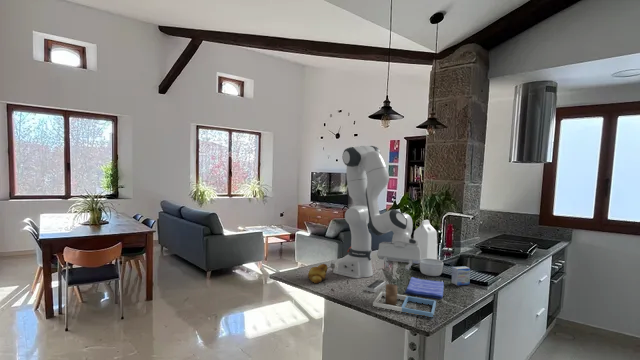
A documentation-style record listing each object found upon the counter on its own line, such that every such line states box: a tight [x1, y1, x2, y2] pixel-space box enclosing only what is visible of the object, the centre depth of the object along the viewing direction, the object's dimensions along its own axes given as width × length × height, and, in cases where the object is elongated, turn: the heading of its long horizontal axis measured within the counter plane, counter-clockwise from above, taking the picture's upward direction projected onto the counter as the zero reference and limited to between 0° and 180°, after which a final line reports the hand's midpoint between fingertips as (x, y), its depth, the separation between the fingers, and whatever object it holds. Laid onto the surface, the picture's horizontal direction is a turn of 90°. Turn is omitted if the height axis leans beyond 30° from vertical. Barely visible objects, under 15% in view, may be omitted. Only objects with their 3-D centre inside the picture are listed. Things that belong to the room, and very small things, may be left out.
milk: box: [413, 219, 438, 260], centre depth 224 cm, size 12×12×26 cm
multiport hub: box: [365, 279, 386, 293], centre depth 168 cm, size 4×14×2 cm, turn 147°
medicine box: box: [451, 265, 471, 286], centre depth 177 cm, size 8×4×9 cm, turn 105°
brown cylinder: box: [384, 283, 398, 306], centre depth 148 cm, size 5×5×8 cm
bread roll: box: [307, 263, 328, 284], centre depth 178 cm, size 13×10×8 cm
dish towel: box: [404, 276, 445, 300], centre depth 169 cm, size 17×24×3 cm
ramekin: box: [419, 258, 444, 277], centre depth 194 cm, size 13×13×7 cm
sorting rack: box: [372, 291, 437, 318], centre depth 146 cm, size 24×15×2 cm, turn 66°
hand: (396, 268), depth 156 cm, fingers open, 8 cm apart
